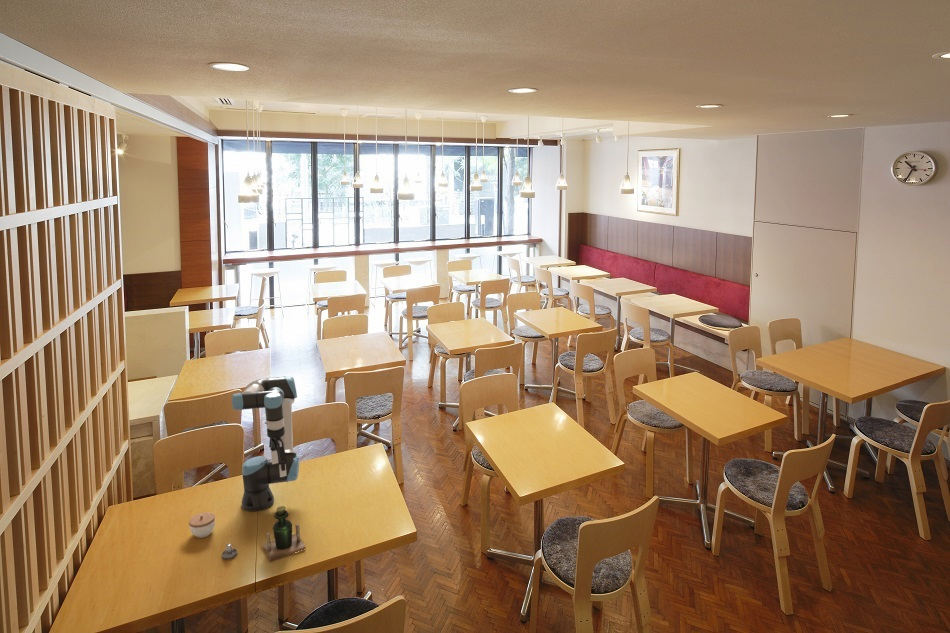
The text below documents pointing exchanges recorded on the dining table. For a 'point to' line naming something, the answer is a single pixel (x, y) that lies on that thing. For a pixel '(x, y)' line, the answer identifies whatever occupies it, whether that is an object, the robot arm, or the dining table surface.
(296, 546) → the rack
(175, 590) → the dining table surface
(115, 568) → the dining table surface
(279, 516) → the potion bottle
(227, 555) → the ring nut stud
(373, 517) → the dining table surface
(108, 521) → the dining table surface
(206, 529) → the lidded jar
